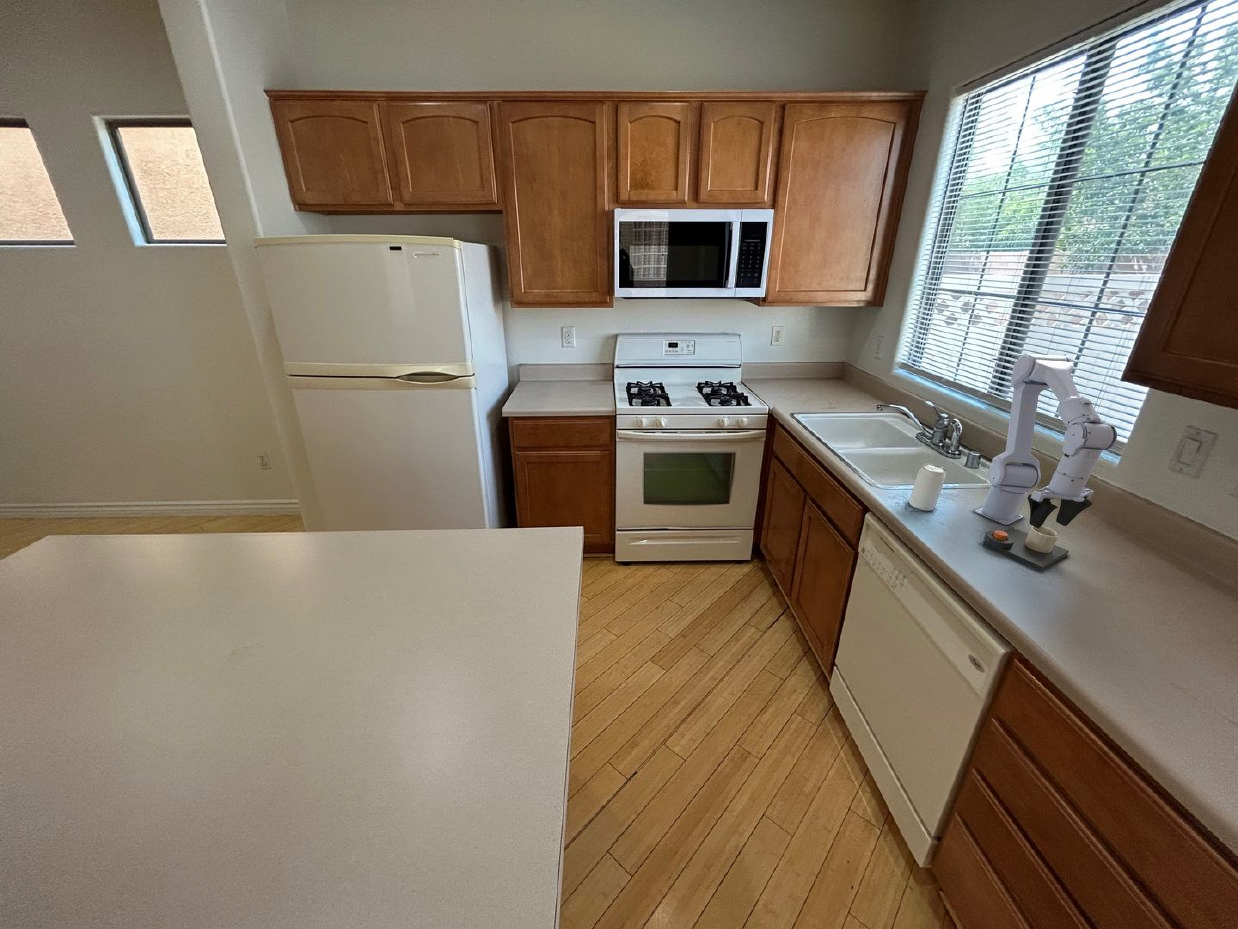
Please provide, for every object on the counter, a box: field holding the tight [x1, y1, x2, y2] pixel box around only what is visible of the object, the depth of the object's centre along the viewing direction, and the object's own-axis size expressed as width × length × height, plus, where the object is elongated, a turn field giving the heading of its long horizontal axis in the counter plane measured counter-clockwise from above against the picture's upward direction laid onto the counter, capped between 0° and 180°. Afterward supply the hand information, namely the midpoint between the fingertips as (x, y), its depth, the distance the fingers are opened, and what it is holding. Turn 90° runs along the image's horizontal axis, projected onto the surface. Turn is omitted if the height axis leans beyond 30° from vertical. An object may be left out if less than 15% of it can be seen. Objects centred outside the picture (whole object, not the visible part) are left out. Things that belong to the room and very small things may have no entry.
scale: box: [982, 526, 1069, 572], centre depth 116 cm, size 15×13×3 cm
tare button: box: [993, 529, 1008, 541], centre depth 116 cm, size 3×3×2 cm
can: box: [908, 463, 947, 512], centre depth 133 cm, size 6×6×12 cm
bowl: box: [1024, 525, 1060, 553], centre depth 115 cm, size 5×5×4 cm
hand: (1047, 524), depth 113 cm, fingers open, 7 cm apart
